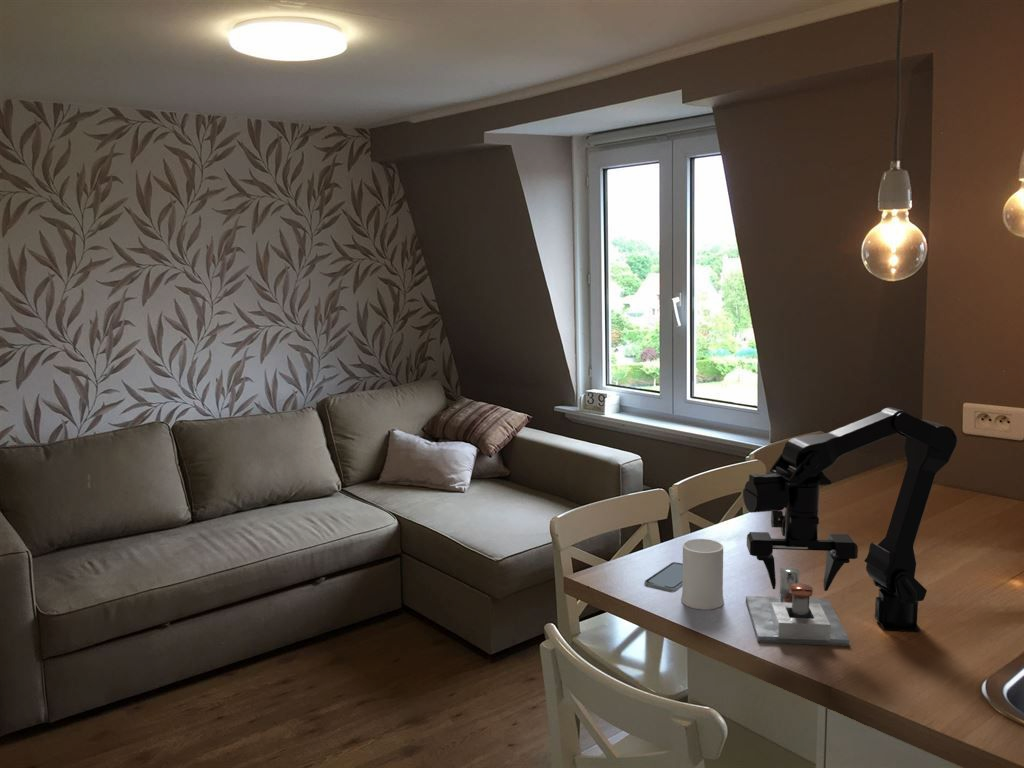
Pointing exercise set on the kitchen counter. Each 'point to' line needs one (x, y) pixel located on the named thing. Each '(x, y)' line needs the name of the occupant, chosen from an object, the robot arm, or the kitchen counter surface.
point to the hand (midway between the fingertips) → (799, 589)
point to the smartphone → (667, 578)
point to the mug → (702, 574)
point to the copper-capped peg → (800, 600)
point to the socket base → (779, 625)
